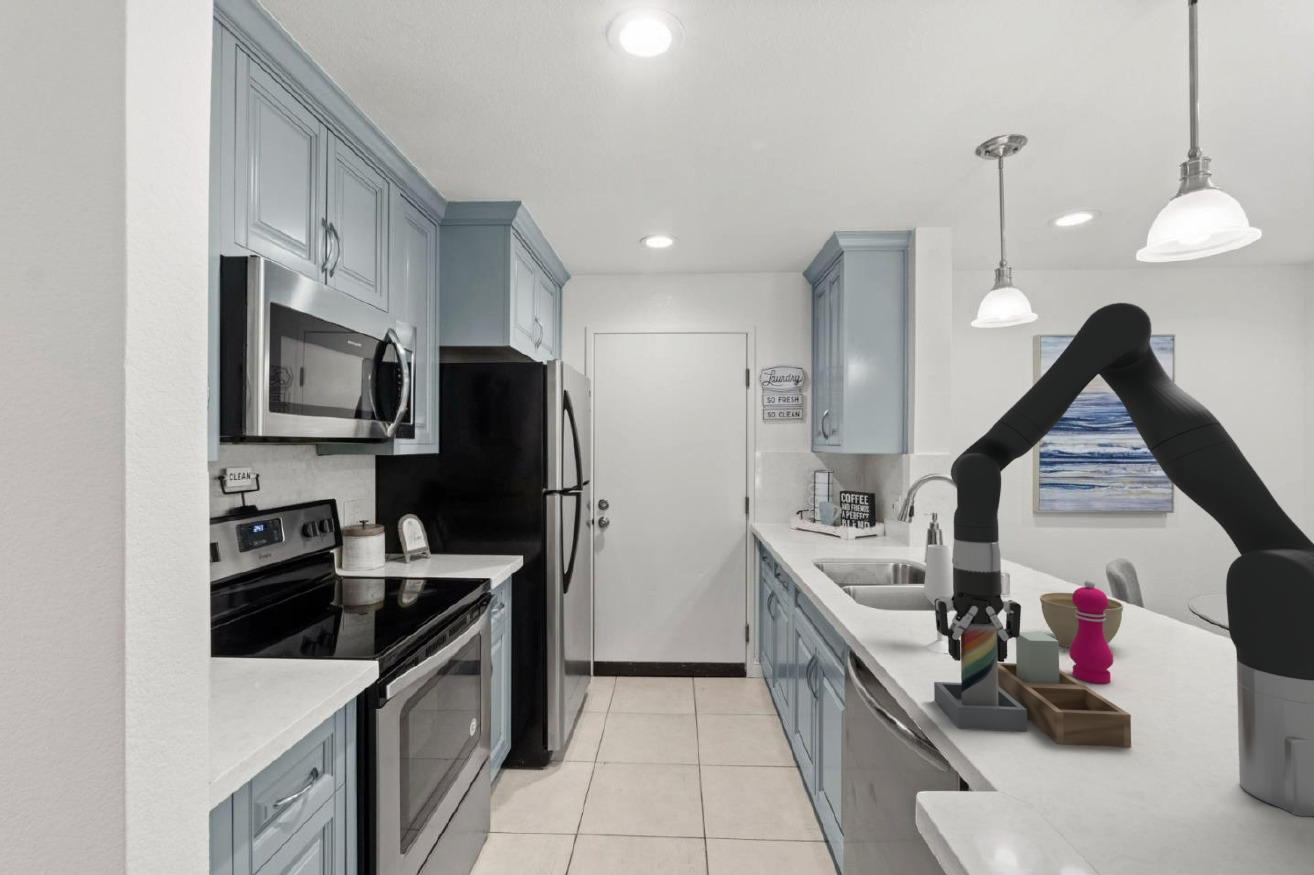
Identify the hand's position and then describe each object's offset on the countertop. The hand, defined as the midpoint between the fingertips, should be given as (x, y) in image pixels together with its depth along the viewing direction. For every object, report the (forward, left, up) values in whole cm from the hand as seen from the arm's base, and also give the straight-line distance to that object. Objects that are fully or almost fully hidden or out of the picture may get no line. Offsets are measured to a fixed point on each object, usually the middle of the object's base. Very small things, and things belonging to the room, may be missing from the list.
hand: (977, 659), depth 105 cm
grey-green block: (+7, -13, -10) cm, 18 cm away
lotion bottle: (0, 0, -9) cm, 9 cm away
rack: (+2, -13, -10) cm, 17 cm away
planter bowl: (+41, -40, -10) cm, 58 cm away
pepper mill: (+20, -30, -10) cm, 38 cm away
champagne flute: (+36, -6, -10) cm, 38 cm away
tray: (0, 0, -10) cm, 10 cm away
